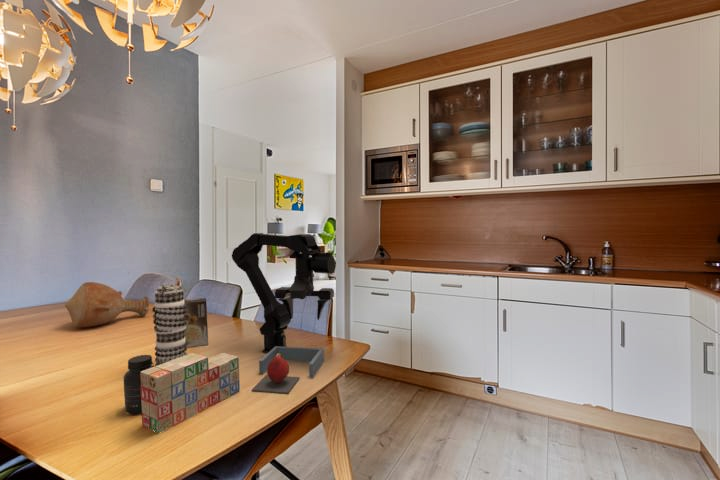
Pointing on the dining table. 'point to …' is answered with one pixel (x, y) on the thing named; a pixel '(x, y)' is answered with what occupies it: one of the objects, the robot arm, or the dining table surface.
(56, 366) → the dining table surface
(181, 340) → the decorative candle
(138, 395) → the supplement bottle
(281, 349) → the u-shaped frame
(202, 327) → the coffee box
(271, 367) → the onion
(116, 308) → the jug
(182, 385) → the stack of blocks
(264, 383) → the mat
